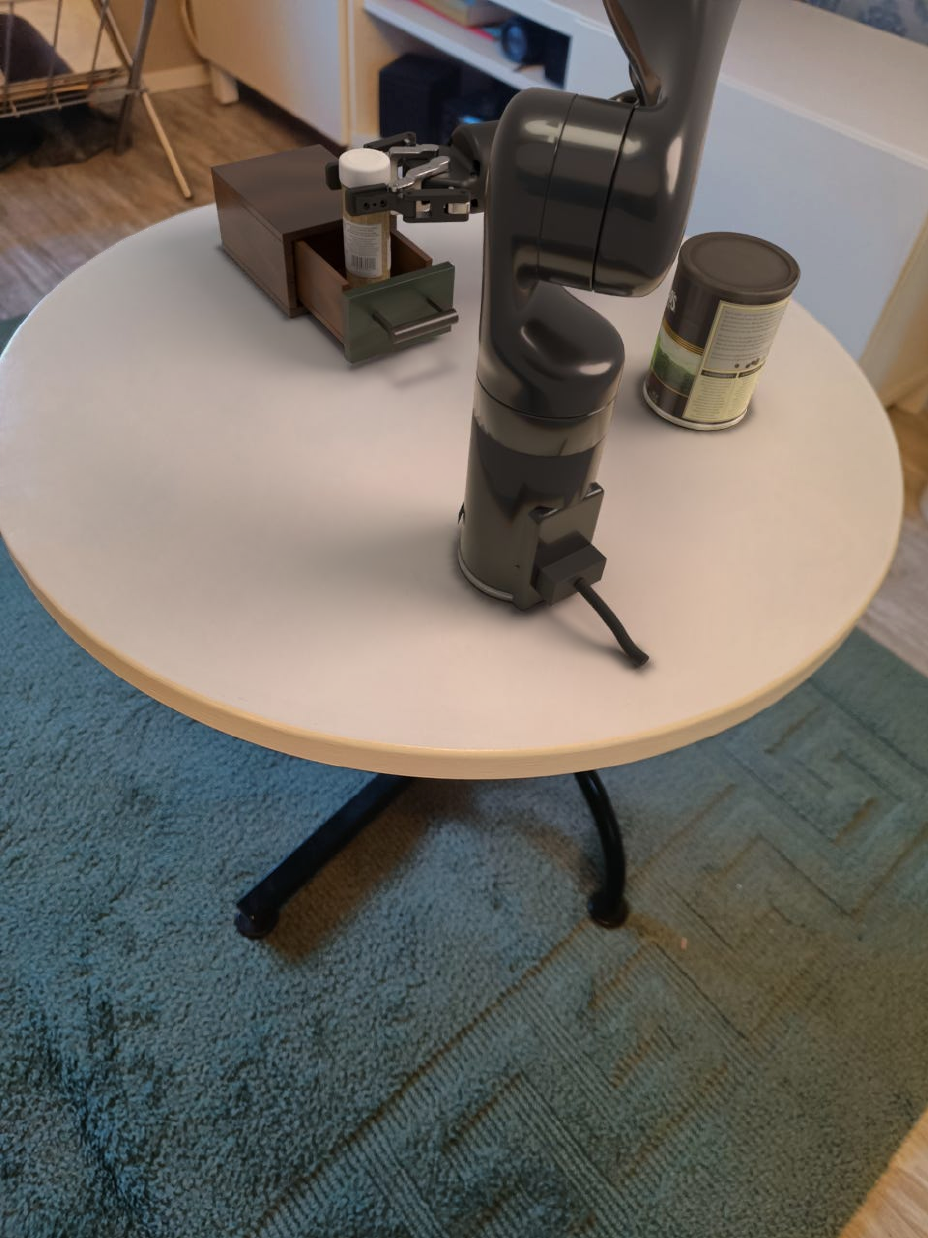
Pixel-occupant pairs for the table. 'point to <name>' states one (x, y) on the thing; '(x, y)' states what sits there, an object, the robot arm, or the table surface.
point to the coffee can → (718, 328)
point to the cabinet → (276, 214)
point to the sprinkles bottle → (365, 219)
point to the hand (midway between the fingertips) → (337, 189)
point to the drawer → (374, 295)
